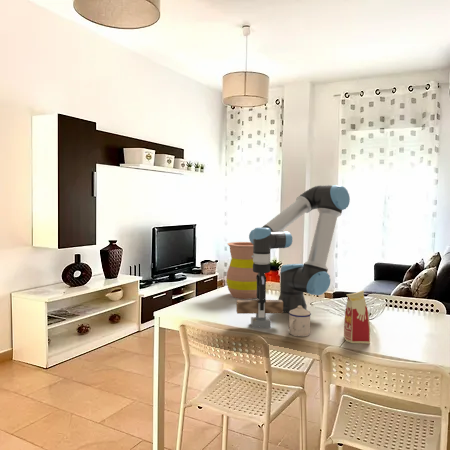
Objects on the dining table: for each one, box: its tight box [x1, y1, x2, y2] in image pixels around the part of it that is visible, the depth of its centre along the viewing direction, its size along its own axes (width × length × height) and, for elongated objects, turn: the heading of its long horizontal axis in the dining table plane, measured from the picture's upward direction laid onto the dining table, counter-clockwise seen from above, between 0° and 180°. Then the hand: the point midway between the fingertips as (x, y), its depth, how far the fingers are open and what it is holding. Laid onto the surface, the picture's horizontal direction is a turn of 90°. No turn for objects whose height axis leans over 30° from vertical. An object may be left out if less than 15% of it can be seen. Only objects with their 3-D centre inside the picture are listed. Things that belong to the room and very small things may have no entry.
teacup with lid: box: [288, 305, 312, 337], centre depth 178 cm, size 12×9×12 cm
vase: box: [226, 241, 258, 300], centre depth 247 cm, size 22×22×30 cm
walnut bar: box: [236, 299, 284, 315], centre depth 190 cm, size 20×4×5 cm, turn 93°
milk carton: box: [343, 289, 371, 345], centre depth 172 cm, size 9×9×20 cm
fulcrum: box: [250, 313, 272, 329], centre depth 190 cm, size 8×6×6 cm
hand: (260, 315), depth 190 cm, fingers open, 5 cm apart
